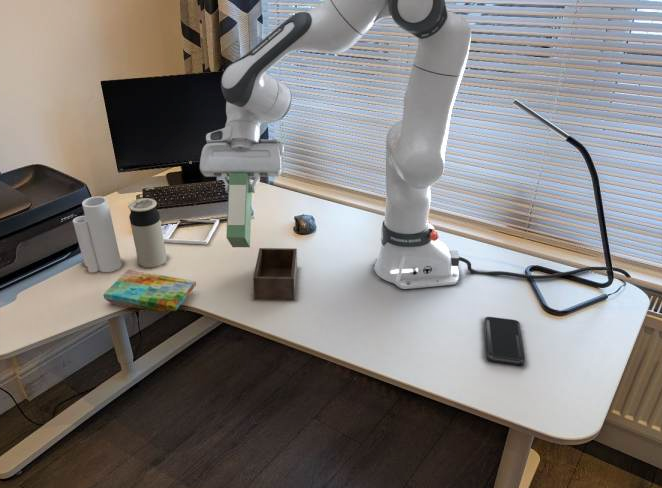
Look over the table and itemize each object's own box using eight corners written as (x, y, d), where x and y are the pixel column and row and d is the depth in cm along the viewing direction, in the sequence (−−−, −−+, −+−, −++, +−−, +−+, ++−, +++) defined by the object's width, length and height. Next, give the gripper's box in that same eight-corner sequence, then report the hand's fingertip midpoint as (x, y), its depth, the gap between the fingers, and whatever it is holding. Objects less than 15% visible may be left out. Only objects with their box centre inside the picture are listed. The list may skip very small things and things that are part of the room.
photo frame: (165, 216, 180) (218, 218, 177) (165, 219, 180) (219, 222, 178) (148, 238, 168) (206, 241, 165) (149, 241, 169) (206, 244, 166)
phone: (487, 356, 120) (484, 316, 132) (486, 360, 121) (483, 319, 133) (525, 362, 119) (519, 320, 131) (524, 366, 119) (518, 324, 131)
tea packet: (252, 186, 142) (247, 173, 133) (249, 247, 139) (244, 237, 130) (235, 186, 142) (229, 173, 133) (232, 247, 139) (226, 237, 130)
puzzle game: (126, 267, 148) (195, 278, 143) (130, 282, 150) (197, 293, 145) (102, 291, 138) (174, 303, 133) (106, 306, 141) (177, 319, 136)
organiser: (297, 269, 154) (296, 248, 150) (294, 300, 142) (293, 278, 138) (260, 268, 155) (259, 247, 151) (254, 299, 142) (253, 278, 138)
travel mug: (172, 258, 160) (163, 201, 150) (153, 271, 155) (142, 212, 144) (152, 251, 164) (142, 195, 154) (132, 263, 158) (120, 206, 148)
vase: (125, 260, 160) (111, 196, 149) (115, 273, 154) (100, 208, 143) (88, 258, 161) (71, 195, 150) (77, 271, 155) (59, 206, 144)
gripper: (284, 144, 141) (283, 196, 139) (205, 145, 143) (202, 196, 140) (282, 133, 135) (281, 187, 133) (199, 134, 137) (196, 187, 134)
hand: (240, 192), depth 136 cm, fingers closed on tea packet, 4 cm apart
